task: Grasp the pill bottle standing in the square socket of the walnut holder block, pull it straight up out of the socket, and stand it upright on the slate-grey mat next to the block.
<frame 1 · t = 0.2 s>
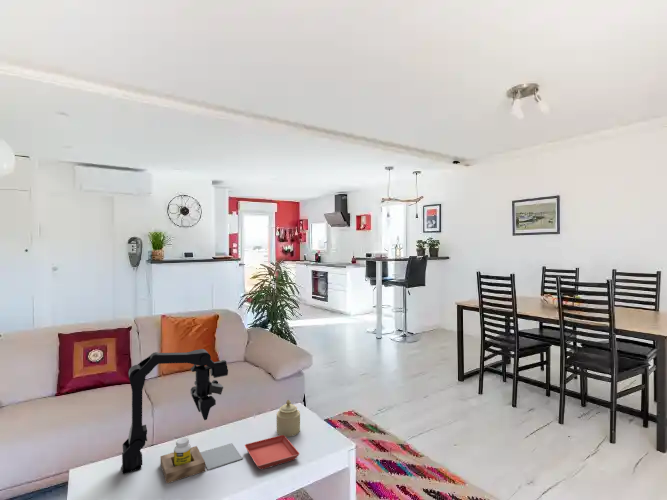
hand: (202, 415, 164), 14 cm above the table, fingers open, 9 cm apart
pill bottle: (182, 468, 150), resting in holder block
holder block: (182, 467, 150), on the table
slate mat: (220, 456, 158), on the table
plant saucer: (271, 457, 159), on the table
sugar bowl: (286, 429, 181), on the table
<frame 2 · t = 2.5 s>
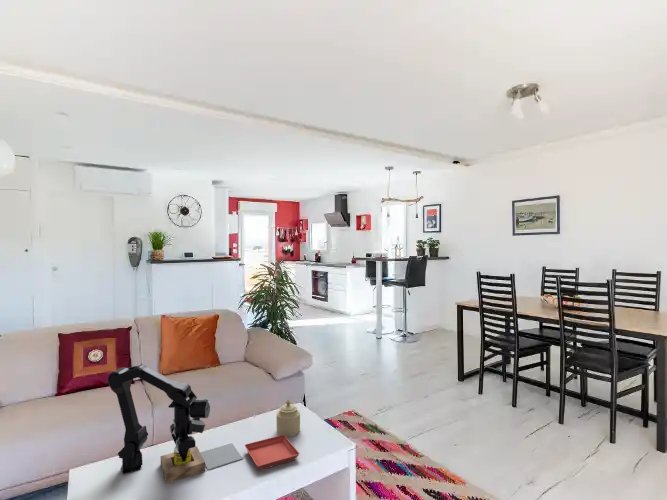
hand: (182, 456, 150), 5 cm above the table, fingers closed on pill bottle, 6 cm apart
pill bottle: (182, 468, 150), resting in holder block, touching gripper
everything else where it was.
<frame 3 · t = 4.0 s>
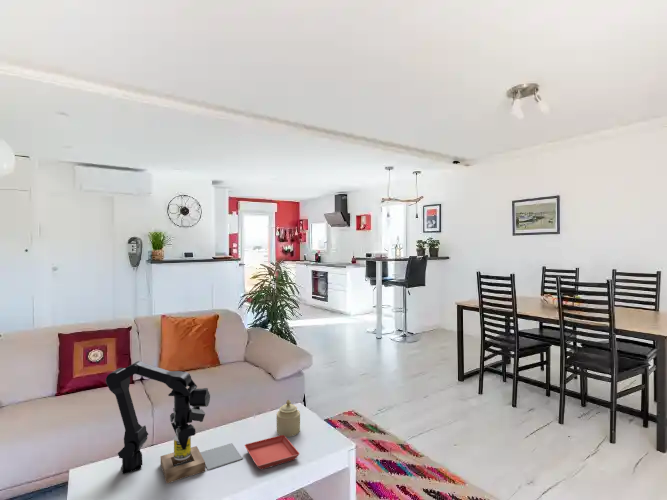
hand: (182, 445, 150), 9 cm above the table, fingers closed on pill bottle, 6 cm apart
pill bottle: (182, 457, 150), point 4 cm above the table, touching gripper
everything else where it was.
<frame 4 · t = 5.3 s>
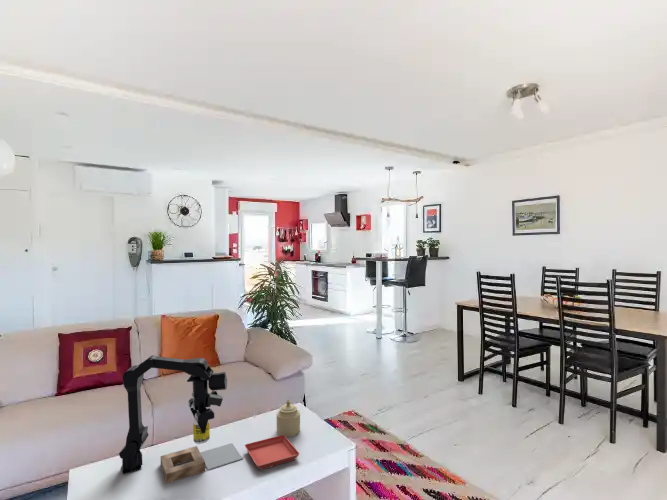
hand: (201, 429, 154), 14 cm above the table, fingers closed on pill bottle, 6 cm apart
pill bottle: (201, 440, 154), point 9 cm above the table, touching gripper
everything else where it was.
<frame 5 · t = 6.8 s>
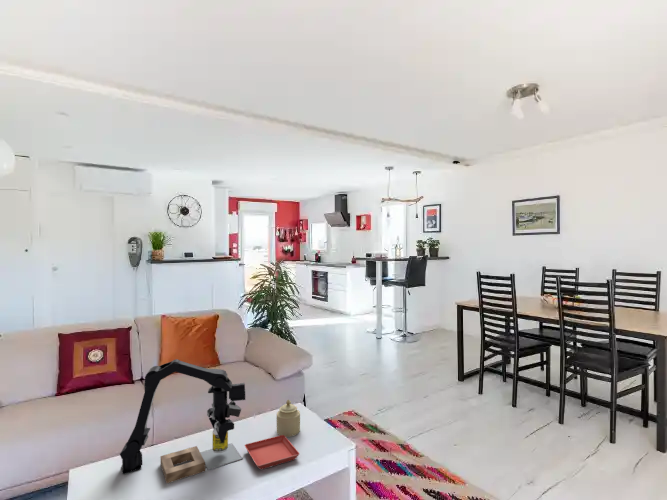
hand: (220, 439, 158), 7 cm above the table, fingers closed on pill bottle, 6 cm apart
pill bottle: (220, 450, 158), point 3 cm above the table, touching gripper
everything else where it was.
when the fingers open (6 cm above the table, at t = 7.9 s): pill bottle drops 1 cm, resting on slate mat.
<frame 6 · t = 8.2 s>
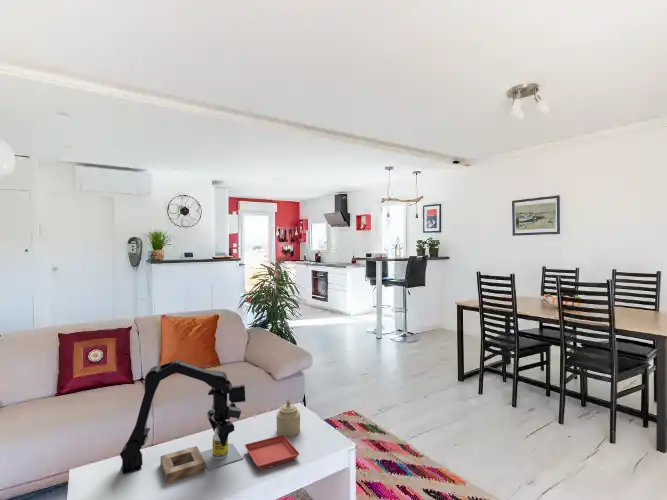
hand: (220, 440, 158), 6 cm above the table, fingers open, 9 cm apart
pill bottle: (220, 455, 158), resting on slate mat
everything else where it was.
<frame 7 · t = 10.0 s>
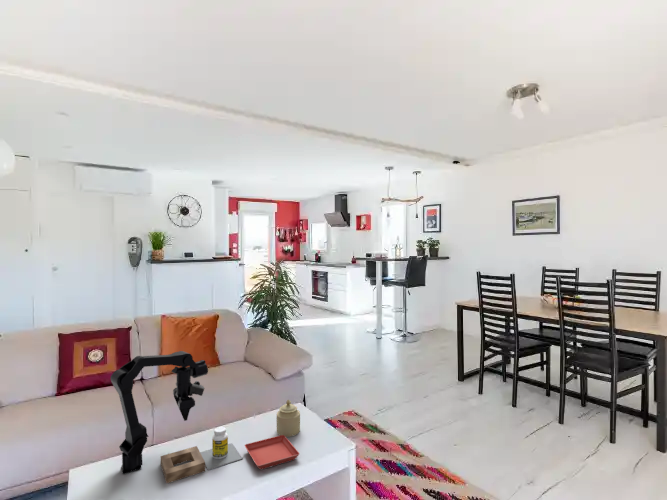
hand: (183, 416, 167), 13 cm above the table, fingers open, 9 cm apart
nothing on the table moved.
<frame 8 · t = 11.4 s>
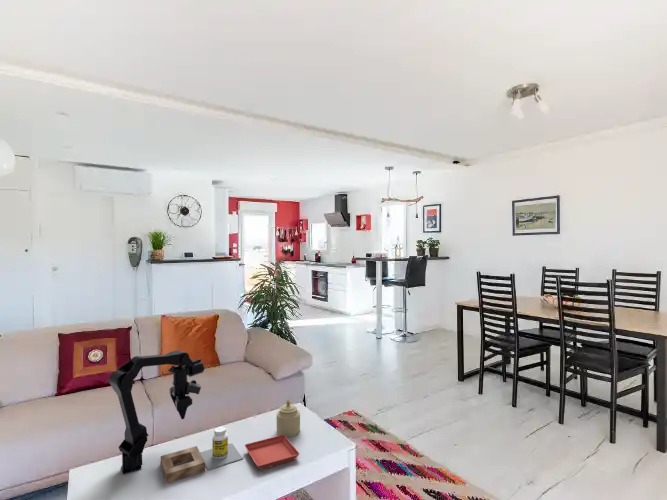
hand: (180, 414, 168), 13 cm above the table, fingers open, 9 cm apart
nothing on the table moved.
at the end: pill bottle inside the target area on the slate mat (0.2 cm from its centre), point 0.2 cm above the slate mat's base; pill bottle tilted 0°; the gripper is holding nothing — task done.
